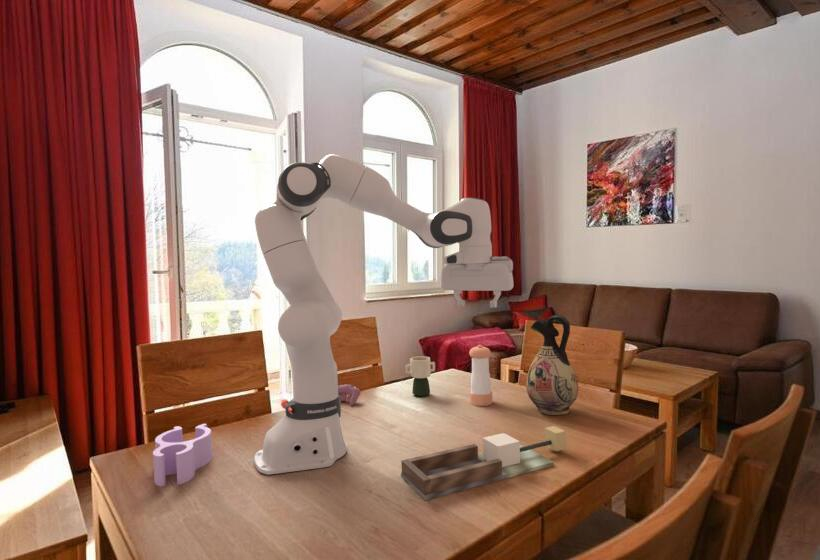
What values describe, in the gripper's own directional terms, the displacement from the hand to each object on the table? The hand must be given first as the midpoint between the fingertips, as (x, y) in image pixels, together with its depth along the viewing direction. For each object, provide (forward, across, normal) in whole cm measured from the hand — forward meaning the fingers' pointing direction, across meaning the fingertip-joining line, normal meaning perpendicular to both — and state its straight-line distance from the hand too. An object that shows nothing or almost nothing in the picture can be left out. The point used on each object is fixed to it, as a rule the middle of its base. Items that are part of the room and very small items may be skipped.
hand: (477, 306), depth 136 cm
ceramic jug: (+34, -16, -22) cm, 44 cm away
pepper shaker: (+34, +7, -22) cm, 41 cm away
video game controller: (+34, +50, -5) cm, 61 cm away
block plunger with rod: (+33, -17, +15) cm, 40 cm away
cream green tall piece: (+34, +30, -22) cm, 50 cm away
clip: (+34, +57, +52) cm, 85 cm away
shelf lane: (+34, -9, +26) cm, 44 cm away
